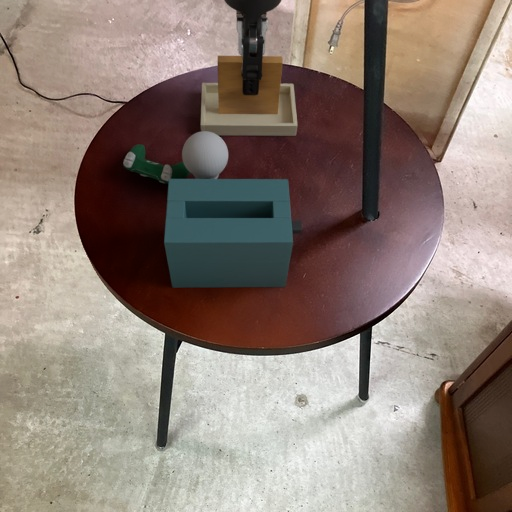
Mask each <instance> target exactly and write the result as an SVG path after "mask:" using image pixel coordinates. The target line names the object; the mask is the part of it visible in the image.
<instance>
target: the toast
mask: <svg viewBox="0 0 512 512" xmlns="http://www.w3.org/2000/svg"><path fill="white" fill-rule="evenodd" d="M283 63H284V61H283V56H279V55H278V56H276V55H275V56H273V55H263V59H262V73H263V77H261V80H259V93H258V95H243V93H242V84H243V79H242V77H241V73H242V72H241V67H242V56H241V55H217V83H218V103H219V114H278V107H279V96H280V86H281V84H282V73H283Z"/></svg>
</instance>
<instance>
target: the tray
mask: <svg viewBox="0 0 512 512" xmlns="http://www.w3.org/2000/svg"><path fill="white" fill-rule="evenodd" d="M295 95H296V94H295V86H294V83H281V86H280V96H279V107H278V114H219V103H218V82H201V97H200V98H201V103H200V132H201V131H208V132H212V133H215V134H216V135H218V136H235V137H236V136H243V137H245V136H246V137H247V136H248V137H249V136H250V137H253V136H254V137H255V136H257V137H296V136H297V132H298V117H297V107H296V96H295Z"/></svg>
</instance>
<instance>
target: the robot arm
mask: <svg viewBox="0 0 512 512" xmlns="http://www.w3.org/2000/svg"><path fill="white" fill-rule="evenodd" d="M223 1H224V2H225V4H226V5H227V6H228V7H230V8H231V9H233V10H234V11H235V13H236V14H235V15H236V17H235V18H236V31H237V34H238V35H237V37H238V45H237V47H238V49H237V50H238V54H239V56H242V67H241V72H242V73H241V77H242V79H243V84H242V93H243V95H258V93H259V80H261V77H263V73H262V59H263V56H265V53H266V32H268V17H267V14H268V12H271V11H273V10H275V8H277V7H278V6H279V5H280V4H281V2H282V0H223Z"/></svg>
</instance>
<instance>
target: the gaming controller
mask: <svg viewBox="0 0 512 512" xmlns="http://www.w3.org/2000/svg"><path fill="white" fill-rule="evenodd" d="M122 166H123V168H124V169H126V171H129V172H132V173H136V174H139V176H141V177H144V178H145V177H148V178H151V179H154V180H157V181H158V182H159V183H162V184H167V185H168V183H169V179H187V178H188V177H189V176H190V175H191V173H190V172H189V171H188V170H187V168H186V167H185V165H184V162H183V161H180V162H177V163H175V164H171V165H170V164H165V165H164V164H161V163H159V162H156V161H152V160H150V159H146V147H145V145H144V144H142V143H141V144H139V143H138V144H135V145H133V146H132V148H130V149H129V151H128V152H127V154H126V155H125V157H124V158H123V161H122Z"/></svg>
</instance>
